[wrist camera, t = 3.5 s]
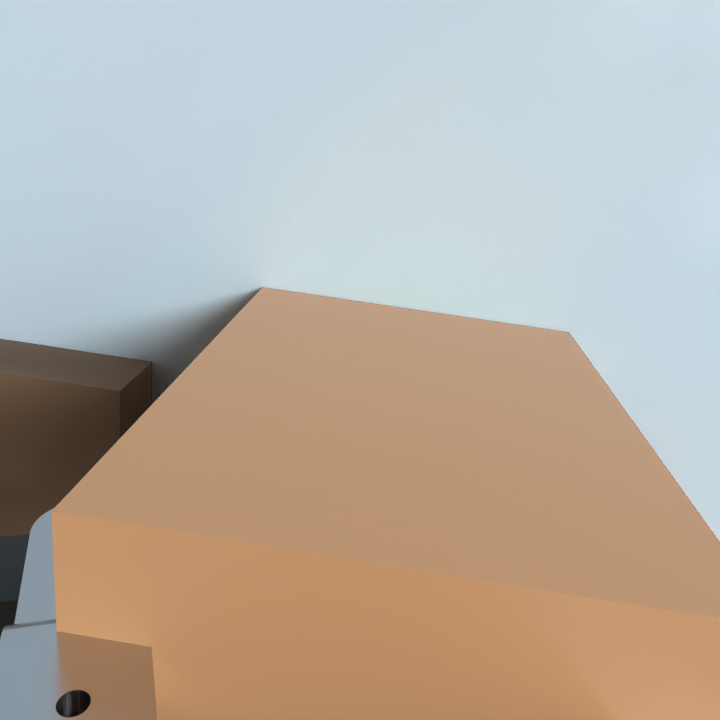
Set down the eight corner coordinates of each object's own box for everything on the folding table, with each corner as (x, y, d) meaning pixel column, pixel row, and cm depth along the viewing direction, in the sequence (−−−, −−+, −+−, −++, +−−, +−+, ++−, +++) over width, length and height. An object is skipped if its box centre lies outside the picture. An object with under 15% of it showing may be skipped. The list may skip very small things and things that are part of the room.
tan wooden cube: (262, 287, 12) (52, 510, 5) (569, 332, 12) (782, 628, 5) (242, 542, 14) (70, 954, 7) (505, 584, 14) (593, 1050, 7)
